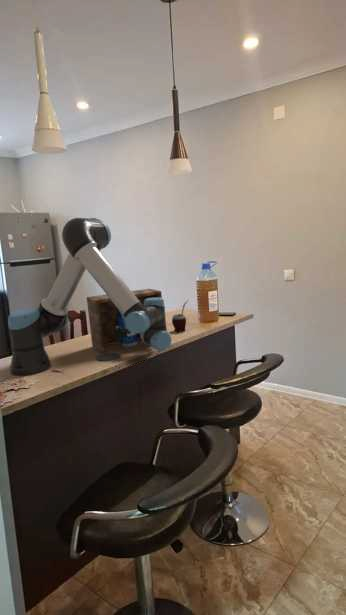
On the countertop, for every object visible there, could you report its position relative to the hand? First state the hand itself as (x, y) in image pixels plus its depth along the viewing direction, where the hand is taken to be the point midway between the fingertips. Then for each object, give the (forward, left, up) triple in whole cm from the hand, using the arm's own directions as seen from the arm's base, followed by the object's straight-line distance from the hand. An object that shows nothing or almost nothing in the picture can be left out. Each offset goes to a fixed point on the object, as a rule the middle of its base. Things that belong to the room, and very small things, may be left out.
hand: (131, 326), depth 184 cm
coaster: (-15, -11, -9) cm, 20 cm away
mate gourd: (+29, +12, -9) cm, 33 cm away
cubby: (-1, +4, -9) cm, 10 cm away
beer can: (-1, +4, -9) cm, 10 cm away
